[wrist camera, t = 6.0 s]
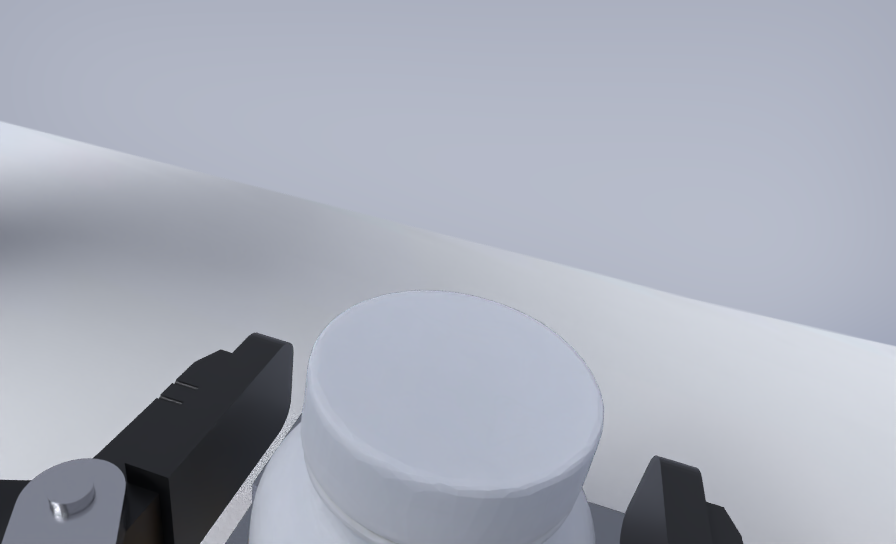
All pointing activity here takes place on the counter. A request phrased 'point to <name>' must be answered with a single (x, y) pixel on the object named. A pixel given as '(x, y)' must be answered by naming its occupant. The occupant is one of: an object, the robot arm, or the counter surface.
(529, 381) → the supplement bottle
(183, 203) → the counter surface
